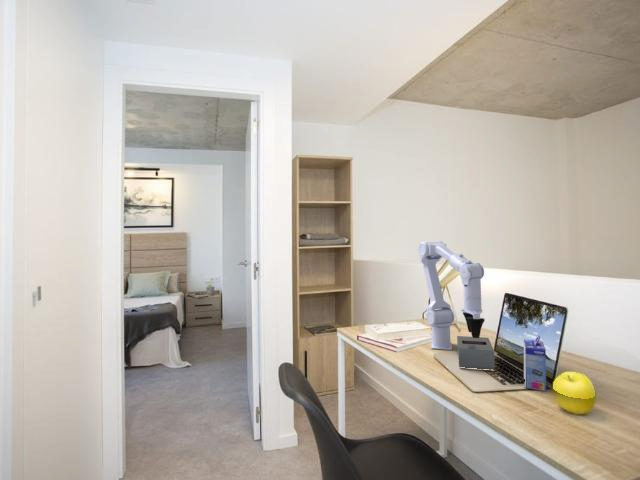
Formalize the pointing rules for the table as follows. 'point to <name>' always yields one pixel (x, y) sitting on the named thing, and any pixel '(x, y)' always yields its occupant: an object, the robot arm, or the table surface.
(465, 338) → the money box
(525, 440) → the table surface
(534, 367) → the ink cartridge box
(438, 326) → the robot arm
